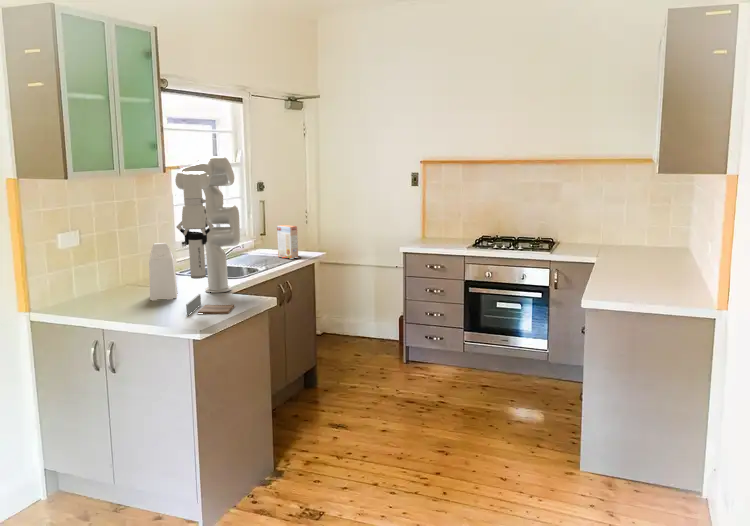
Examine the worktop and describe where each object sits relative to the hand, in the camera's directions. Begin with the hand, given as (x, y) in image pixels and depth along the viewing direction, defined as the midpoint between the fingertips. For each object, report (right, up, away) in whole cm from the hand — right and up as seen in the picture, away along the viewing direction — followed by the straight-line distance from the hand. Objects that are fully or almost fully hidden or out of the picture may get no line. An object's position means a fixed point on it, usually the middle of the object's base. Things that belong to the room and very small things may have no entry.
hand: (196, 243), depth 288 cm
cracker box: (+21, -5, +141) cm, 142 cm away
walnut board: (+8, -29, +5) cm, 30 cm away
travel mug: (0, -15, +3) cm, 15 cm away
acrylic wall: (-2, -29, +6) cm, 30 cm away
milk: (-24, -25, +34) cm, 48 cm away
